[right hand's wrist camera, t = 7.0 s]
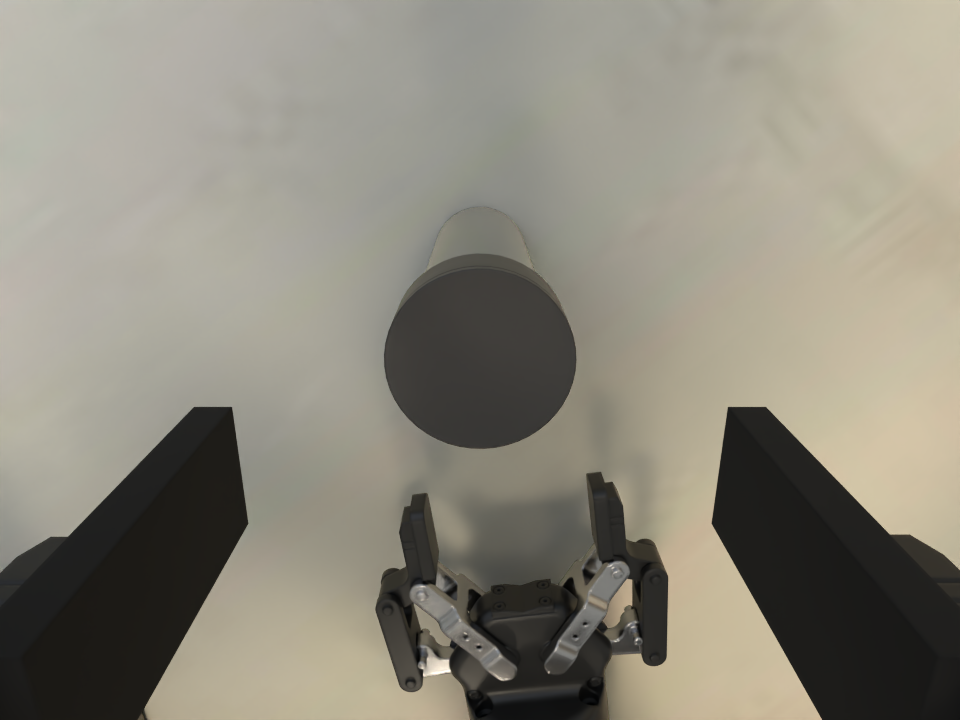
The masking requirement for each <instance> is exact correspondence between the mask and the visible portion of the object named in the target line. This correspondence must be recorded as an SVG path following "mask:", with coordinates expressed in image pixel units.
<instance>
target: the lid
mask: <svg viewBox="0 0 960 720" xmlns="http://www.w3.org/2000/svg"><path fill="white" fill-rule="evenodd" d="M384 367H385V373H386V379H387V382H388V385H389V388H390V391H391V393H392V395H393V397H394V399H395V401H396V403H397V404H398V406H399V407H400V409H401V410H402V411H403V413H404V414H405V415H406V416H407V417H408V419H409V420H411V421H412V422H413V423H414V424H415V425H416V426H417V427H418V428H420V429H421V430H423V431H424V432H425V433H427V434H429V435H430V436H432V437H434V438H436V439H438V440H440V441H443V442H445V443H448V444H451V445H455V446H459V447H465V448H475V449H486V448H496V447H501V446H505V445H509V444H512V443H515V442H518V441H520V440H522V439H524V438H526V437H528V436H530V435H532V434H533V433H535V432H536V431H538V430H539V429H541V428H542V427H543V426H544V425H545V424H547V423H548V422H549V421H550V420H551V419H552V418H553V417H554V415H555V414H556V413H557V412H558V411H559V409H560V408H561V406H562V405H563V403H564V402H565V400H566V398H567V396H568V394H569V392H570V389H571V386H572V383H573V380H574V375H575V369H576V347H575V342H574V337H573V334H572V331H571V328H570V325H569V323H568V320H567V318H566V316H565V313H564V311H563V309H562V306H561V304H560V302H559V300H558V298H557V296H556V294H555V293H554V292H553V290H552V289H551V287H550V286H549V285H548V284H547V283H546V282H545V280H544V279H543V278H542V277H541V276H539V275H538V274H537V273H536V272H534V271H533V270H532V269H530V268H529V267H527V266H525V265H524V264H522V263H520V262H517V261H515V260H513V259H510V258H507V257H503V256H500V255H493V254H480V253H476V254H466V255H461V256H457V257H453V258H450V259H448V260H445V261H443V262H441V263H439V264H437V265H435V266H433V267H431V268H430V269H429V270H427V271H426V272H425V273H423V274H422V275H421V276H420V277H419V278H418V279H417V280H416V281H415V282H414V283H413V284H412V285H411V287H410V288H409V289H408V290H407V292H406V294H405V295H404V297H403V299H402V300H401V303H400V305H399V308H398V310H397V312H396V315H395V317H394V319H393V322H392V324H391V327H390V329H389V332H388V335H387V339H386V343H385V352H384Z"/></svg>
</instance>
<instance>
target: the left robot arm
mask: <svg viewBox="0 0 960 720" xmlns="http://www.w3.org/2000/svg"><path fill="white" fill-rule="evenodd" d="M586 477H587V487H588V497H589V507H590V517H591V527H592V535H593V539H594V544H593V545H592V547H591V548H590V549H589V551H588V552H587V553H586V555H585V556H584V558H583V559H582V560H581V561H580V560H576V561H575V562H574V563H573V565H572V566H571V568H570V569H569V570H568V572H567V573H566V574H565V576H564V577H563V579H562V580H561V581H560V583H559V584H558V585H556V584H551V581H550V579H546V580H537V581H533V582H530V583H528V584H525V585H522V586H518V585H508V584H503V585H495V586H491V591H489V592H487V593H485V592H484V591H483V590H482V589H480V588H479V587H478V586H477V585H476V584H474V583H473V582H472V581H471V580H469V579H468V578H467V577H466V576H464V575H463V574H459V575H455V574H454V573H453V572H452V571H450V570H449V569H448V568H447V567H445V566H444V565H443V564H442V563H440V562H439V561H438V557H439V549H438V544H437V539H436V533H435V528H434V523H433V518H432V513H431V508H430V503H429V498H428V494H427V493H422V494H414V495H412V500H411V506H407V507H404V511H403V516H402V521H401V526H400V531H399V534H400V539H401V542H402V548H403V552H404V557H405V562H406V567H405V568H403V569H400V570H399V569H396V568H390V569H387V570H386V571H385V572H384V573H383V576H382V580H381V589H380V594H379V598H378V600H377V604H376V613H377V616H378V620H379V623H380V626H381V629H382V632H383V635H384V638H385V641H386V645H387V648H388V651H389V654H390V657H391V660H392V663H393V666H394V669H395V673H396V676H397V679H398V682H399V685H400V687H401V688H402V689H403V690H405V691H407V692H415V691H418V690H419V689H420V688H421V687H422V684H423V677H428V676H434V675H440V674H447V673H452V674H453V676H454V677H455V678H456V679H457V680H458V681H459V682H460V683H461V685H462V686H463V688H464V692H465V697H466V702H467V707H468V712H469V717H470V720H609V712H608V702H607V692H606V683H605V668H606V666H607V664H608V662H609V660H610V659H611V656H612V655H620V654H636V653H641V655H642V658H643V661H644V662H645V663H646V664H647V665H649V666H658V665H660V664H662V663H663V662H664V661H665V660H666V657H667V609H668V575H667V573H666V570H665V568H664V565H663V563H662V560H661V558H660V555H659V553H658V551H657V548H656V545H655V543H654V542H653V541H651V540H649V539H641V540H638V541H637V542H631V541H628V540H626V538H625V525H624V513H623V505H622V502H621V499H620V496H619V494H618V491H617V489H616V487H615V486H614V484H613V482H607V483H604V480H603V477H602V474H601V472H596V473H588V474H586ZM626 579H632V606H626V607H625V608H624V611H625V612H624V613H623V614H622V615H621V617H620V621H619V623H618V624H617V625H616V626H615V627H613V628H609V629H608V628H607V626H606V625H605V623H604V622H603V621H602V620H603V619H604V617H605V616H606V614H607V611H608V605H609V602H610V600H611V599H612V597H613V596H614V595H615V593H616V592H617V591H618V589H619V588H620V587H621V586H622V584H623V583H624V582H625V580H626ZM413 603H415V604H416V605H417V606H419V607H420V608H421V609H423V610H424V611H425V612H426V613H428V614H429V615H430V616H432V617H433V618H434V619H435V620H437V622H438V623H439V625H440V628H441V630H442V632H443V633H444V634H445V635H446V636H447V637H449V638H450V639H451V640H452V641H451V643H450V646H449V647H445V646H441V645H439V644H438V643H437V642H436V641H435V639H434V637H433V636H432V635H430V631H429V630H428V629H422V630H421V628H420V625H419V622H418V618H417V615H416V611H415V608H414V605H413ZM468 611H469V614H468Z"/></svg>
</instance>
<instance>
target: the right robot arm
mask: <svg viewBox="0 0 960 720" xmlns="http://www.w3.org/2000/svg"><path fill="white" fill-rule="evenodd" d="M247 525H248V518H247V511H246V504H245V497H244V489H243V482H242V475H241V468H240V461H239V454H238V446H237V439H236V432H235V425H234V418H233V411H232V407H194V408H193V409H192V410H191V411H190V412H189V413H188V414H187V415H186V416H185V417H184V418H183V419H182V420H181V421H180V422H179V423H178V424H177V425H176V426H175V427H174V428H173V429H172V430H171V431H170V432H169V433H168V434H167V436H166V437H165V438H164V439H163V440H162V441H161V442H160V443H159V444H158V445H157V446H156V447H155V448H154V449H153V450H152V451H151V452H150V453H149V454H148V455H147V456H146V457H145V458H144V459H143V460H142V461H141V462H140V463H139V464H138V465H137V466H136V467H135V468H134V470H133V471H132V472H131V473H130V474H129V475H128V476H127V477H126V478H125V479H124V480H123V481H122V482H121V483H120V484H119V485H118V486H117V487H116V488H115V489H114V490H113V491H112V492H111V493H110V494H109V495H108V496H107V497H106V498H105V499H104V500H103V501H102V502H101V504H100V505H99V506H98V507H97V508H96V509H95V510H94V511H93V512H92V513H91V514H90V515H89V516H88V517H87V518H86V519H85V520H84V521H83V522H82V523H81V524H80V525H79V526H78V527H77V528H76V529H75V530H74V531H73V532H72V533H71V534H70V535H69V536H68V537H50V538H48V539H47V540H45V541H43V542H42V543H40V544H38V545H36V546H35V547H33V548H31V549H30V550H28V551H26V552H25V553H23V554H21V555H20V556H18V557H17V558H16V559H14V560H13V561H12V562H11V563H10V564H9V565H8V566H7V567H6V568H5V569H4V570H3V571H2V572H1V573H0V720H145V719H144V717H143V715H142V711H143V709H144V708H145V706H146V704H147V702H148V701H149V699H150V697H151V695H152V693H153V692H154V690H155V688H156V686H157V685H158V683H159V681H160V679H161V678H162V676H163V674H164V672H165V670H166V669H167V667H168V665H169V663H170V662H171V660H172V658H173V656H174V654H175V653H176V651H177V649H178V647H179V646H180V644H181V642H182V640H183V638H184V637H185V635H186V633H187V631H188V630H189V628H190V626H191V624H192V623H193V621H194V619H195V617H196V615H197V614H198V612H199V610H200V608H201V607H202V605H203V603H204V601H205V599H206V598H207V596H208V594H209V592H210V591H211V589H212V587H213V585H214V583H215V582H216V580H217V578H218V576H219V575H220V573H221V571H222V569H223V568H224V566H225V564H226V562H227V560H228V559H229V557H230V555H231V553H232V552H233V550H234V548H235V546H236V544H237V543H238V541H239V539H240V537H241V536H242V534H243V532H244V530H245V528H246V527H247ZM712 525H713V527H714V529H715V530H716V532H717V534H718V536H719V537H720V539H721V541H722V543H723V544H724V546H725V548H726V550H727V552H728V553H729V555H730V557H731V559H732V560H733V562H734V564H735V566H736V568H737V569H738V571H739V573H740V575H741V576H742V578H743V580H744V582H745V583H746V585H747V587H748V589H749V591H750V592H751V594H752V596H753V598H754V599H755V601H756V603H757V605H758V607H759V608H760V610H761V612H762V614H763V615H764V617H765V619H766V621H767V623H768V624H769V626H770V628H771V630H772V631H773V633H774V635H775V637H776V638H777V640H778V642H779V644H780V646H781V647H782V649H783V651H784V653H785V654H786V656H787V658H788V660H789V662H790V663H791V665H792V667H793V669H794V670H795V672H796V674H797V676H798V678H799V679H800V681H801V683H802V685H803V686H804V688H805V690H806V692H807V693H808V695H809V697H810V699H811V701H812V702H813V704H814V706H815V708H816V709H817V711H818V713H819V715H820V717H821V718H822V720H960V570H959V569H958V568H957V567H956V566H955V565H954V564H953V563H952V562H951V561H950V560H949V559H948V558H946V557H945V556H944V555H943V554H941V553H940V552H938V551H936V550H935V549H933V548H931V547H930V546H928V545H926V544H925V543H923V542H921V541H919V540H918V539H916V538H914V537H913V536H911V535H890V534H889V533H888V532H887V531H886V530H885V529H884V528H883V527H882V526H881V525H880V524H879V523H878V522H877V521H876V520H875V519H874V518H873V517H872V516H871V515H870V514H869V513H868V512H867V511H866V510H865V509H864V508H863V507H862V506H861V505H860V504H859V502H858V501H857V500H856V499H855V498H854V497H853V496H852V495H851V494H850V493H849V492H848V491H847V490H846V489H845V488H844V487H843V486H842V485H841V484H840V483H839V482H838V481H837V480H836V479H835V478H834V477H833V476H832V475H831V474H830V473H829V472H828V471H827V470H826V468H825V467H824V466H823V465H822V464H821V463H820V462H819V461H818V460H817V459H816V458H815V457H814V456H813V455H812V454H811V453H810V452H809V451H808V450H807V449H806V448H805V447H804V446H803V445H802V444H801V443H800V442H799V441H798V440H797V439H796V438H795V437H794V436H793V434H792V433H791V432H790V431H789V430H788V429H787V428H786V427H785V426H784V425H783V424H782V423H781V422H780V421H779V420H778V419H777V418H776V417H775V416H774V415H773V414H772V413H771V412H770V411H769V410H768V409H767V408H766V407H728V411H727V418H726V425H725V432H724V439H723V446H722V454H721V461H720V468H719V475H718V482H717V489H716V496H715V504H714V511H713V518H712Z"/></svg>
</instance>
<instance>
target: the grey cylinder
mask: <svg viewBox="0 0 960 720" xmlns="http://www.w3.org/2000/svg"><path fill="white" fill-rule="evenodd" d="M476 253H480V254H493V255H500V256H503V257H507V258H510V259H513V260H515V261H517V262H520V263H522V264H524V265H525V266H527V267H529V268H530V269H532V270H533V271H534V268H533V265H532V262H531V259H530V256H529V253H528V250H527V248H526V245H525V242H524V239H523V236H522V234H521V232H520V230H519V228H518V227H517V225H516V224H515V223H514V222H513V221H512V220H511V219H510V218H509V217H508V216H507V215H505V214H503V213H502V212H500V211H497V210H495V209H491V208H486V207H474V208H469V209H465V210H463V211H460V212H459V213H457V214H455V215H454V216H452V217H451V218H450V219H449V220H448V221H447V222H446V223H445V224H444V226H443V227H442V228H441V230H440V232H439V234H438V237H437V239H436V242H435V245H434V248H433V251H432V254H431V257H430V260H429V263H428V265H427V268H426V271H427V270H429V269H430V268H431V267H433V266H435V265H437V264H439V263H441V262H443V261H445V260H448V259H450V258H453V257H457V256H461V255H466V254H476ZM426 271H425V272H426ZM534 272H535V271H534Z"/></svg>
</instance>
